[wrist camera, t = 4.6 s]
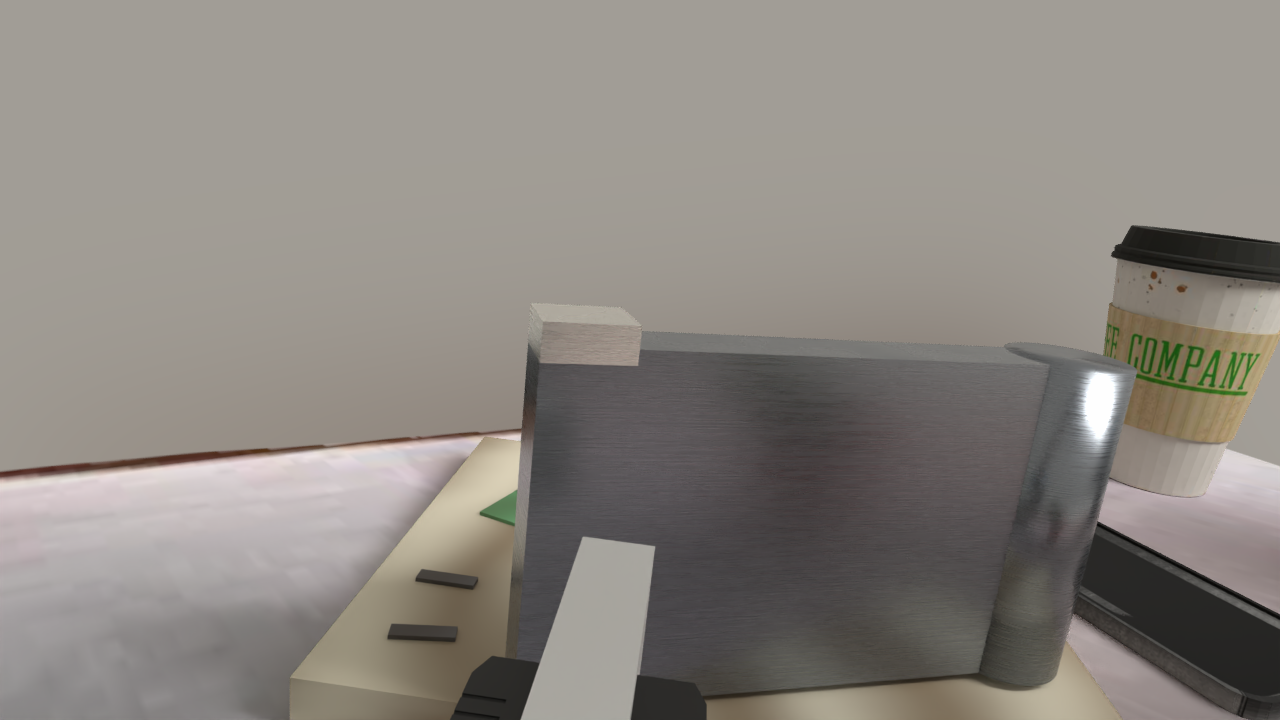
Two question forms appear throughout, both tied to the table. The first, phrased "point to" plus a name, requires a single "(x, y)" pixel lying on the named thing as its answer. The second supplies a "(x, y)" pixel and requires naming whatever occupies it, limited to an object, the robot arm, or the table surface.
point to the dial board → (478, 617)
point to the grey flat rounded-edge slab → (815, 498)
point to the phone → (1184, 624)
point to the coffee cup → (1189, 349)
